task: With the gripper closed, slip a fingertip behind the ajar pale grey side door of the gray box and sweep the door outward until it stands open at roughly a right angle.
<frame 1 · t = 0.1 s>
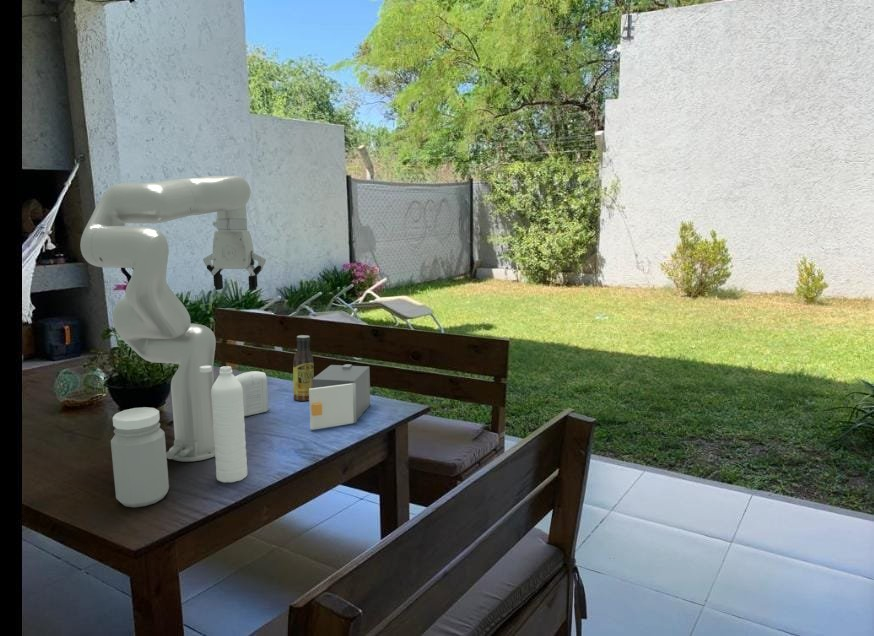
hand: (236, 289, 166), 37 cm above the table, tool pointing down, fingers open, 9 cm apart
jar: (143, 498, 125), on the table
gray box: (342, 412, 178), on the table
photo printer: (250, 414, 177), on the table
water bottle: (227, 477, 135), on the table
sauce bottle: (304, 399, 191), on the table
side door: (333, 406, 164), point 6 cm above the table, hinge at 35.0°
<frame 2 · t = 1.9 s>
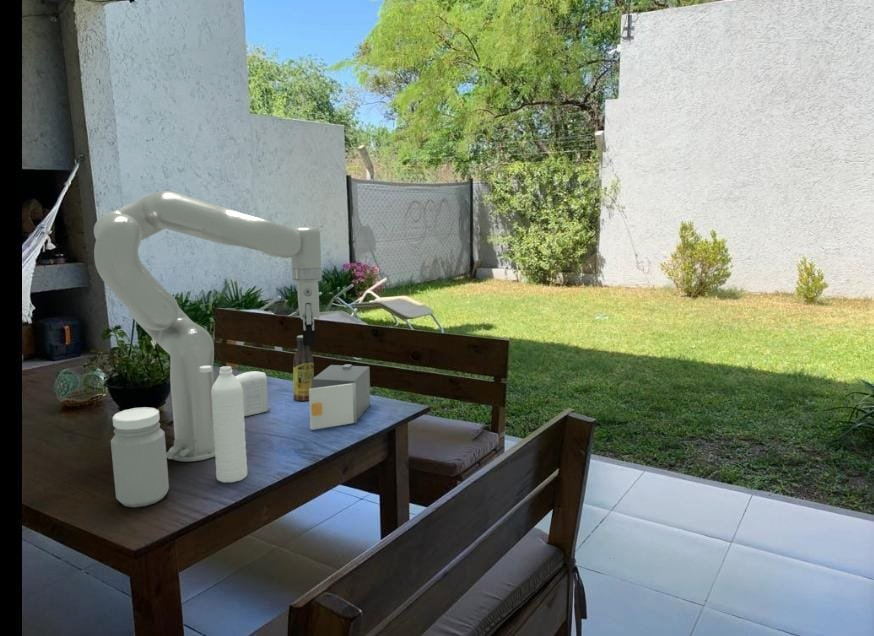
hand: (309, 343, 162), 23 cm above the table, tool pointing down, fingers closed
nothing on the table moved.
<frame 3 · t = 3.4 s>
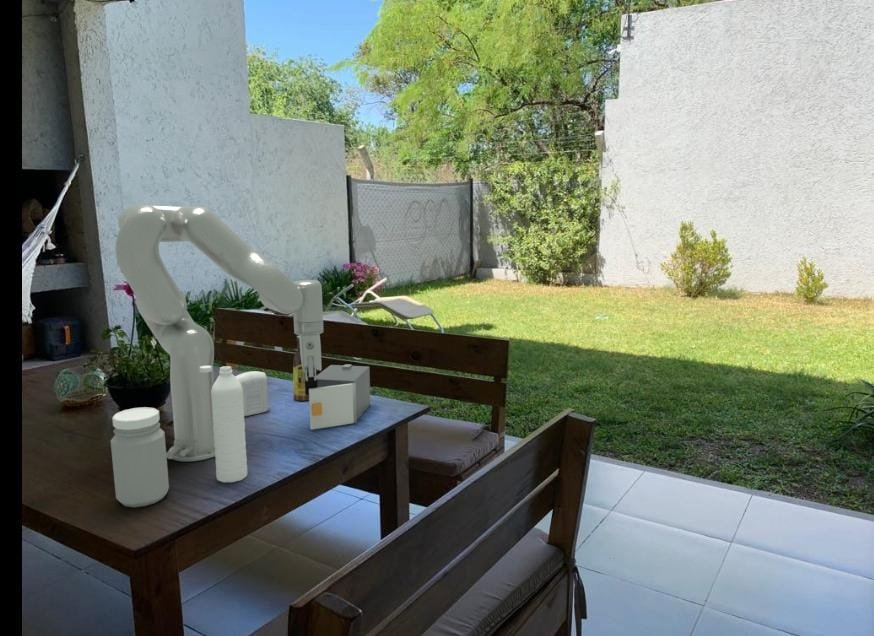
hand: (311, 394, 164), 9 cm above the table, tool pointing down, fingers closed
side door: (333, 406, 164), point 6 cm above the table, hinge at 35.0°, touching gripper
everything else where it was.
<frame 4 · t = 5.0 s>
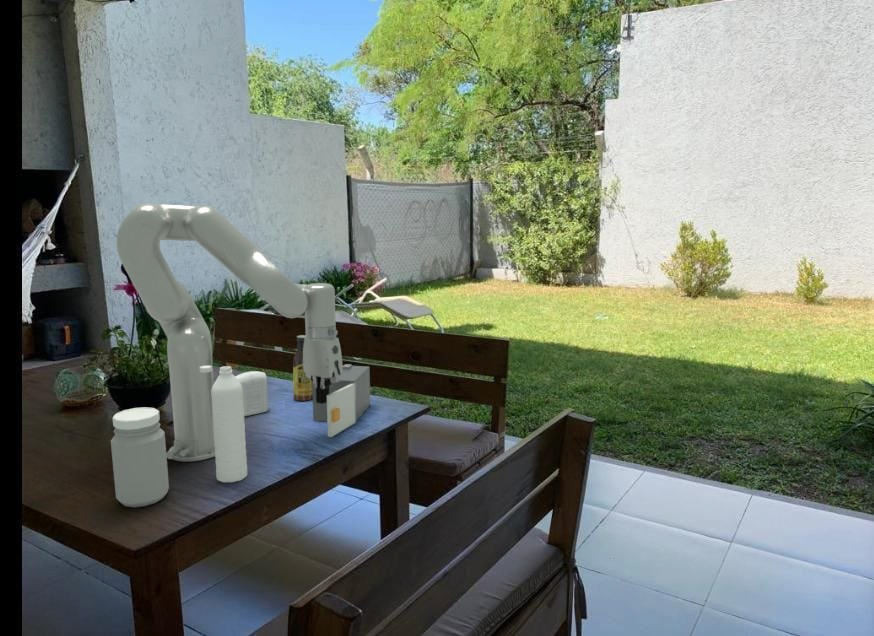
hand: (322, 401, 158), 9 cm above the table, tool pointing down, fingers closed
side door: (343, 409, 162), point 6 cm above the table, hinge at 75.2°, touching gripper
everything else where it was.
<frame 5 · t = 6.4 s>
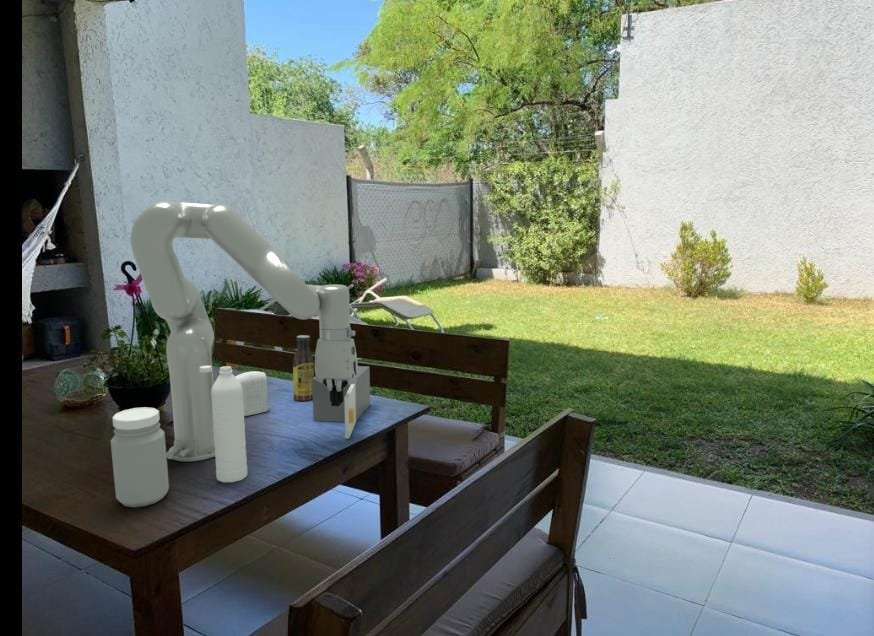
hand: (336, 404, 156), 9 cm above the table, tool pointing down, fingers closed
side door: (352, 409, 162), point 6 cm above the table, hinge at 98.2°
everything else where it was.
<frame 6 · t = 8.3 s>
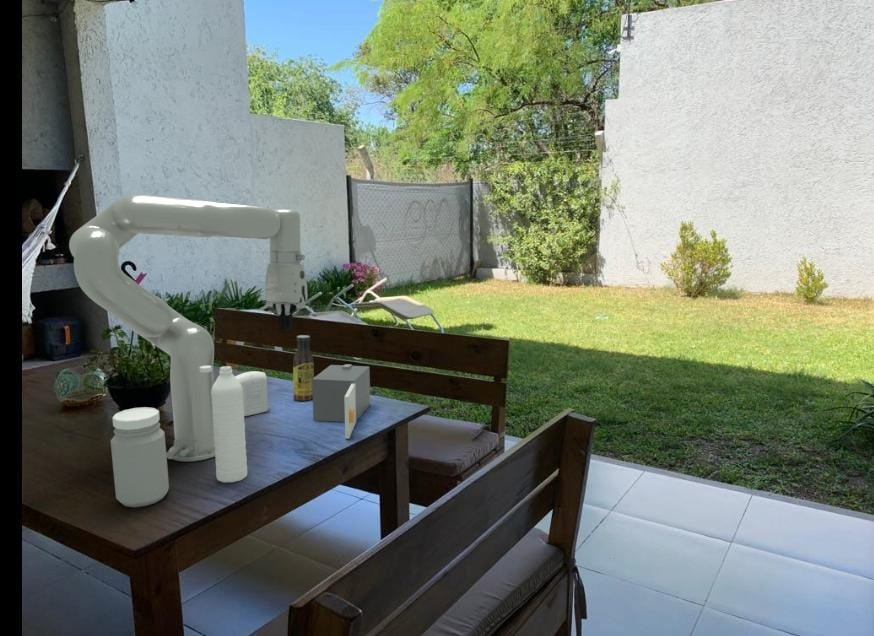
hand: (285, 329, 158), 28 cm above the table, tool pointing down, fingers closed
nothing on the table moved.
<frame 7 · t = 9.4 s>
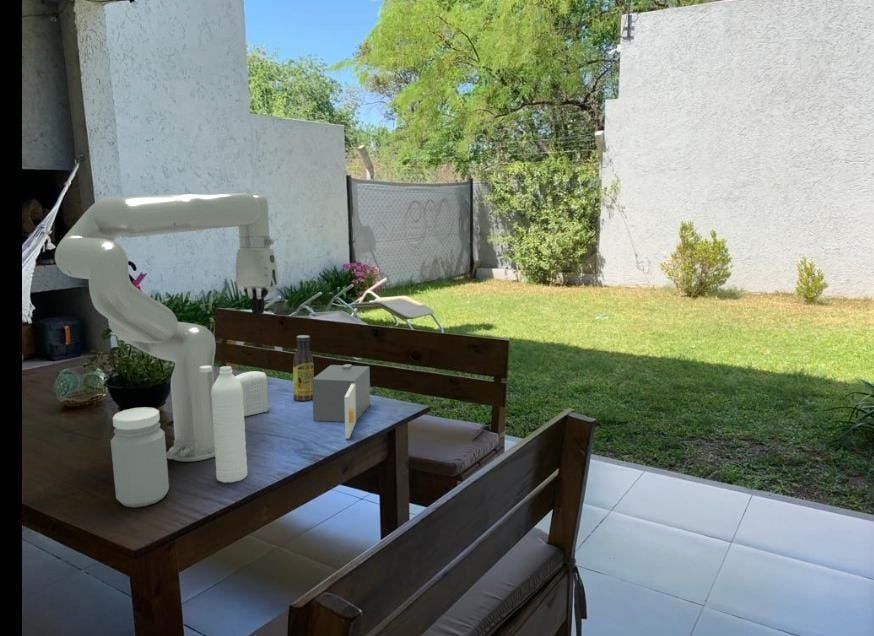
hand: (258, 313, 162), 31 cm above the table, tool pointing down, fingers closed
nothing on the table moved.
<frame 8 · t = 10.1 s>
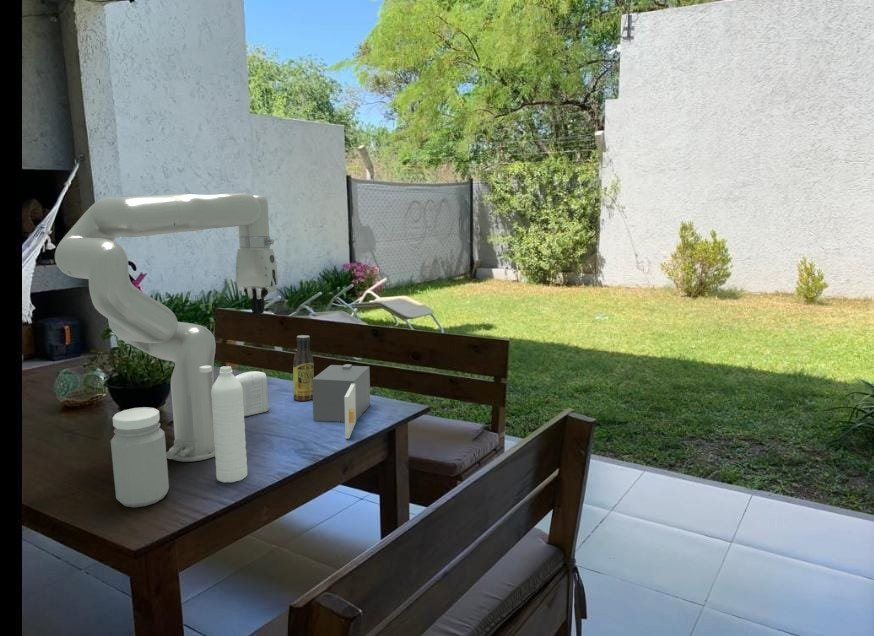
hand: (258, 313, 162), 31 cm above the table, tool pointing down, fingers closed
nothing on the table moved.
at the end: side door at +98° (first picture: +35°) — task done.
